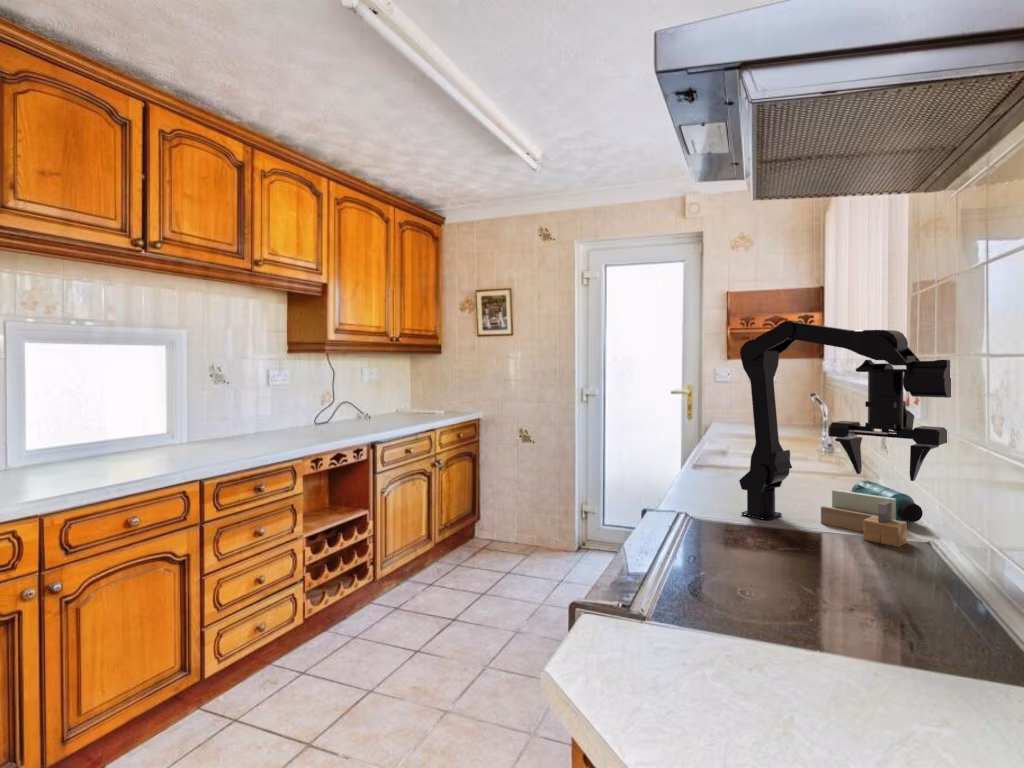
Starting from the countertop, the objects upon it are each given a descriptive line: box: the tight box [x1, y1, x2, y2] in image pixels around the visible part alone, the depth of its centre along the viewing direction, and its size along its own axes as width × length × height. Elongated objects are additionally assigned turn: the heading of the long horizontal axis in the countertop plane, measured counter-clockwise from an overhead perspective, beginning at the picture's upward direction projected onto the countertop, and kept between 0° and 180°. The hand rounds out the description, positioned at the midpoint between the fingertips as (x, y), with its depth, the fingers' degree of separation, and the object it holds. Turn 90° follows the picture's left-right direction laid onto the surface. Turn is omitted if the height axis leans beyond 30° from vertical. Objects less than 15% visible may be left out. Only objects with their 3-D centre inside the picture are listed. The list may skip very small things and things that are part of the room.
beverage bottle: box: [850, 479, 924, 523], centre depth 130 cm, size 6×7×20 cm
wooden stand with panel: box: [820, 489, 896, 533], centre depth 123 cm, size 8×12×6 cm, turn 38°
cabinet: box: [863, 501, 908, 548], centre depth 112 cm, size 4×6×8 cm
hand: (884, 477), depth 112 cm, fingers open, 9 cm apart
